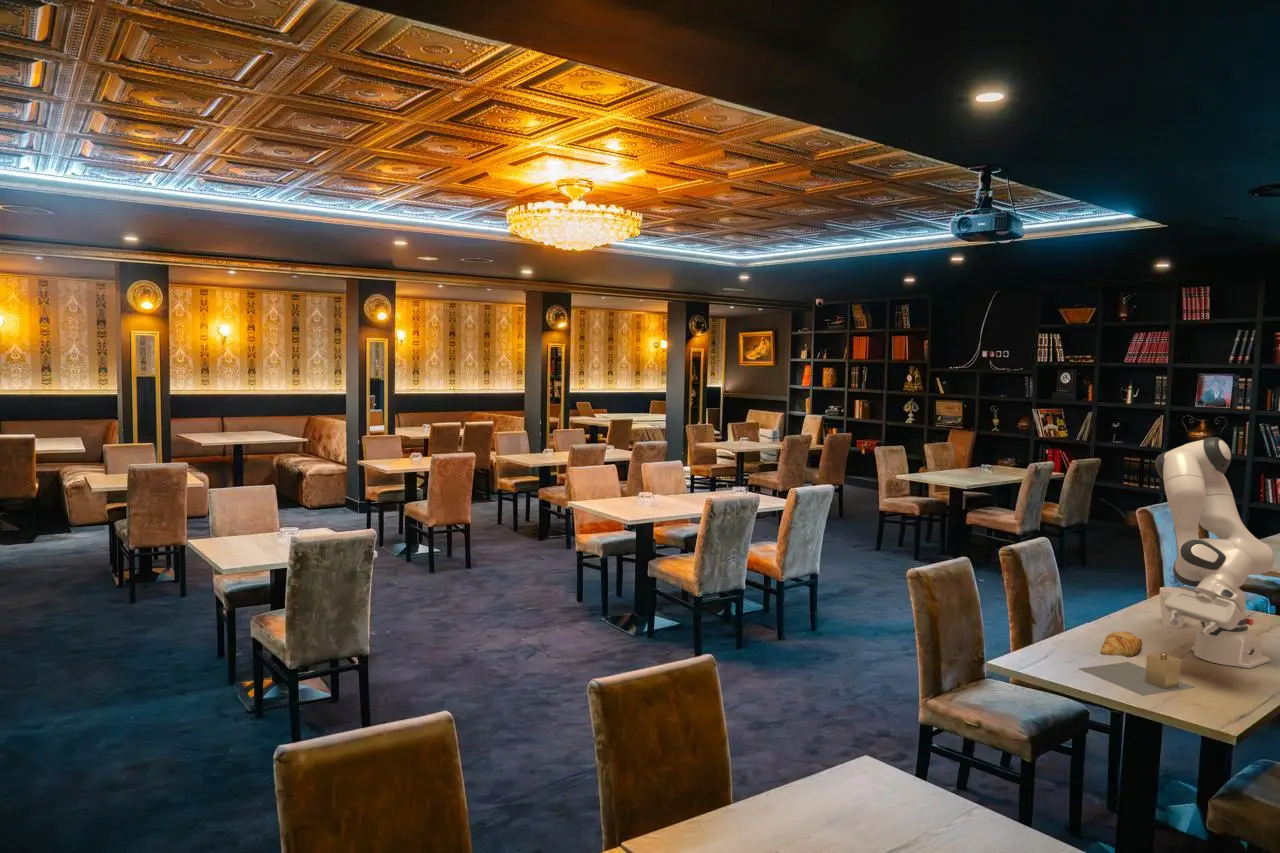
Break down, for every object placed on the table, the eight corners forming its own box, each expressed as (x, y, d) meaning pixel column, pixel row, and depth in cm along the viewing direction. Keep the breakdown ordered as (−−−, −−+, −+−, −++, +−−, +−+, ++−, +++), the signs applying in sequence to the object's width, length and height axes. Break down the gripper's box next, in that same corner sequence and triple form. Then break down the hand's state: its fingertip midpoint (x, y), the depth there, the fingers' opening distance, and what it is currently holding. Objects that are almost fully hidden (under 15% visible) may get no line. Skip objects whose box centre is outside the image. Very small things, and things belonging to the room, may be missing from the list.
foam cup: (1151, 622, 311) (1153, 587, 310) (1170, 620, 313) (1172, 586, 312) (1174, 630, 302) (1177, 594, 301) (1193, 628, 304) (1196, 593, 303)
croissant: (1110, 670, 269) (1123, 652, 265) (1084, 647, 276) (1096, 630, 272) (1146, 658, 280) (1159, 640, 276) (1120, 636, 287) (1132, 619, 283)
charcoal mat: (1128, 664, 265) (1128, 661, 265) (1195, 690, 244) (1195, 687, 244) (1077, 671, 257) (1077, 668, 257) (1142, 698, 237) (1142, 695, 237)
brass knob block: (1159, 679, 250) (1161, 649, 249) (1178, 686, 244) (1180, 656, 244) (1145, 681, 248) (1147, 651, 247) (1164, 689, 242) (1166, 658, 241)
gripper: (1175, 578, 260) (1150, 612, 257) (1242, 596, 240) (1216, 633, 238) (1184, 591, 261) (1159, 625, 259) (1252, 610, 242) (1226, 647, 240)
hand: (1187, 629), depth 248 cm, fingers open, 8 cm apart
